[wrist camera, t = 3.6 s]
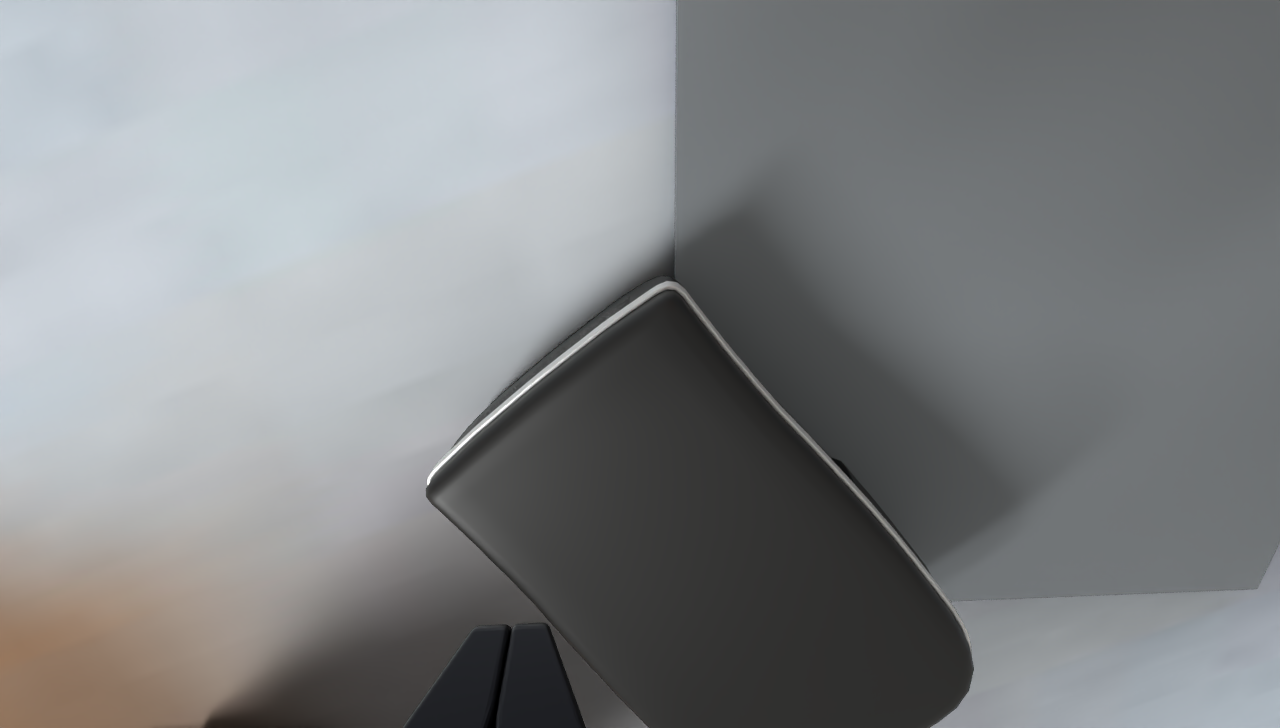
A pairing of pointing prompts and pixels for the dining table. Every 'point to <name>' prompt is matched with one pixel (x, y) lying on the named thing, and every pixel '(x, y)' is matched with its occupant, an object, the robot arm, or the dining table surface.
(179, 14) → the dining table surface
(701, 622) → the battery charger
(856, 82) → the mat
